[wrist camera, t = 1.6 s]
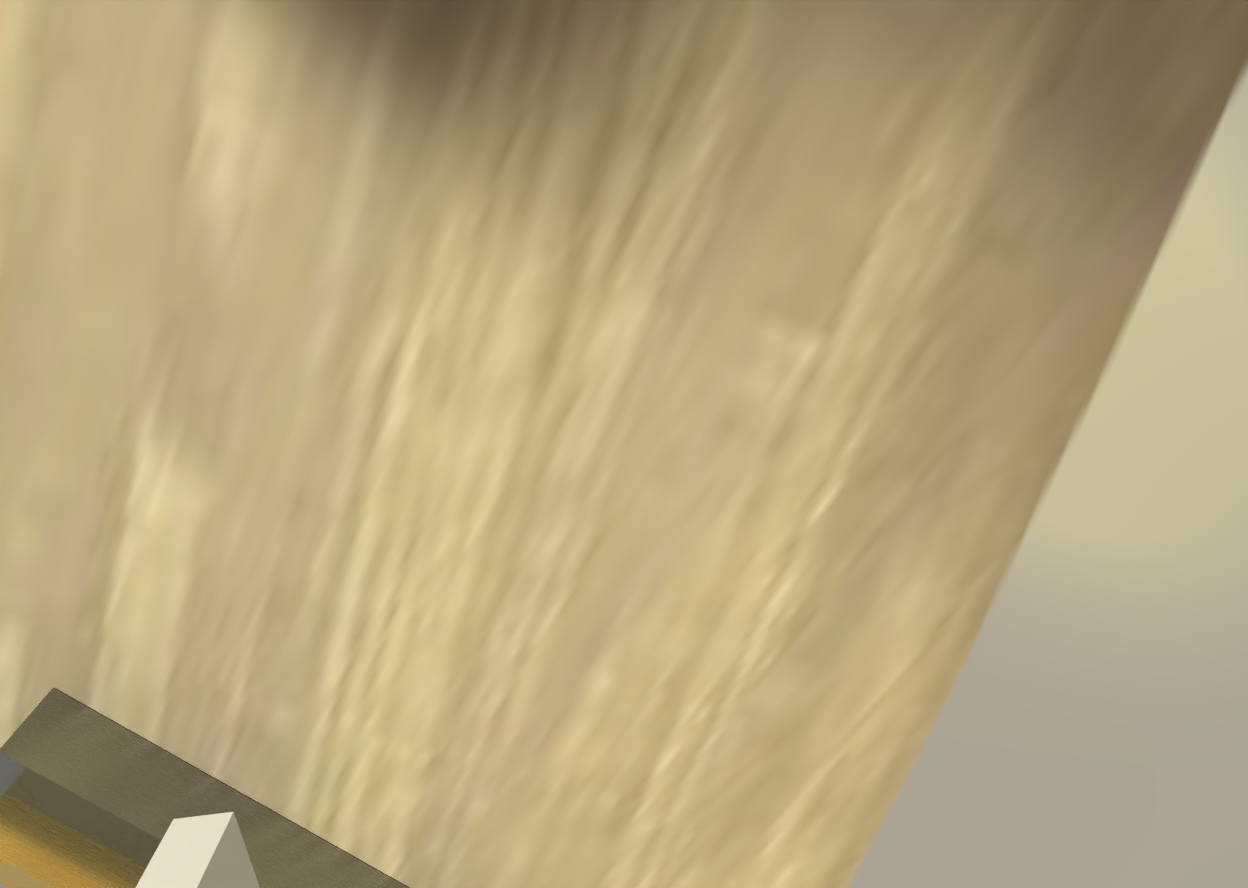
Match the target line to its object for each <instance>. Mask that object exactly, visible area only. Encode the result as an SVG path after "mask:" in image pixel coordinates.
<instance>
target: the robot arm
mask: <svg viewBox="0 0 1248 888" xmlns="http://www.w3.org/2000/svg"><path fill="white" fill-rule="evenodd" d="M136 888H260V887H259V884H258V881H257V878H256V875H255V872H254V869H253V866H252V864H251V861H250V858H249V855H248V852H247V849H246V846H245V843H244V840H243V837H242V835H241V832H240V829H239V826H238V823H237V820H236V817H235V814H234V812H227V813H219V814H211V815H202V816H194V817H186V818H178V819H173V821H172V823H171V824H170V826H169V828H168V830H167V832H166V833H165V835H164V837H163V839H162V841H161V842H160V844H159V846H158V848H157V850H156V851H155V853H154V855H153V857H152V859H151V861H150V862H149V864H148V866H147V868H146V870H145V871H144V873H143V875H142V877H141V879H140V880H139V882H138V884H137V886H136Z"/></svg>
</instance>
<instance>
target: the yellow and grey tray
mask: <svg viewBox="0 0 1248 888" xmlns="http://www.w3.org/2000/svg"><path fill="white" fill-rule="evenodd" d="M227 812H234V814H235V817H236V820H237V823H238V826H239V829H240V832H241V835H242V837H243V840H244V843H245V846H246V849H247V852H248V855H249V858H250V861H251V864H252V866H253V869H254V872H255V875H256V878H257V881H258V884H259V887H260V888H408V887H406V886H405V885H403V884H401V883H399V882H398V881H396V880H394V879H392V878H390V877H389V876H387V875H385V874H383V873H382V872H380V871H378V870H376V869H374V868H373V867H371V866H369V865H367V864H366V863H364V862H362V861H360V860H358V859H357V858H355V857H353V856H351V855H350V854H348V853H346V852H344V851H342V850H341V849H339V848H337V847H335V846H334V845H332V844H330V843H328V842H326V841H325V840H323V839H321V838H319V837H318V836H316V835H314V834H312V833H310V832H309V831H307V830H305V829H303V828H302V827H300V826H298V825H296V824H294V823H293V822H291V821H289V820H287V819H286V818H284V817H282V816H280V815H278V814H277V813H275V812H273V811H271V810H270V809H268V808H266V807H264V806H263V805H261V804H259V803H257V802H255V801H254V800H252V799H250V798H248V797H247V796H245V795H243V794H241V793H239V792H238V791H236V790H234V789H232V788H231V787H229V786H227V785H225V784H223V783H222V782H220V781H218V780H216V779H215V778H213V777H211V776H209V775H207V774H206V773H204V772H202V771H200V770H199V769H197V768H195V767H193V766H191V765H190V764H188V763H186V762H184V761H183V760H181V759H179V758H177V757H175V756H174V755H172V754H170V753H168V752H167V751H165V750H163V749H161V748H159V747H158V746H156V745H154V744H152V743H151V742H149V741H147V740H145V739H143V738H142V737H140V736H138V735H136V734H135V733H133V732H131V731H129V730H127V729H126V728H124V727H122V726H120V725H119V724H117V723H115V722H113V721H111V720H110V719H108V718H106V717H104V716H103V715H101V714H99V713H97V712H95V711H94V710H92V709H90V708H88V707H87V706H85V705H83V704H81V703H79V702H78V701H76V700H74V699H72V698H71V697H69V696H67V695H65V694H63V693H62V692H60V691H58V690H56V689H55V688H53V689H52V690H51V691H50V692H49V693H48V694H47V696H46V697H45V698H44V699H43V700H42V701H41V702H40V704H39V705H38V706H37V707H36V708H35V709H34V710H33V712H32V713H31V714H30V715H29V716H28V717H27V719H26V720H25V721H24V722H23V723H22V724H21V725H20V727H19V728H18V729H17V730H16V731H15V732H14V733H13V735H12V736H11V737H10V738H9V739H8V740H7V742H6V743H5V744H4V745H3V746H2V747H1V748H0V888H136V886H137V884H138V882H139V880H140V879H141V877H142V875H143V873H144V871H145V870H146V868H147V866H148V864H149V862H150V861H151V859H152V857H153V855H154V853H155V851H156V850H157V848H158V846H159V844H160V842H161V841H162V839H163V837H164V835H165V833H166V832H167V830H168V828H169V826H170V824H171V823H172V821H173V819H178V818H186V817H194V816H202V815H211V814H219V813H227Z"/></svg>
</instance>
